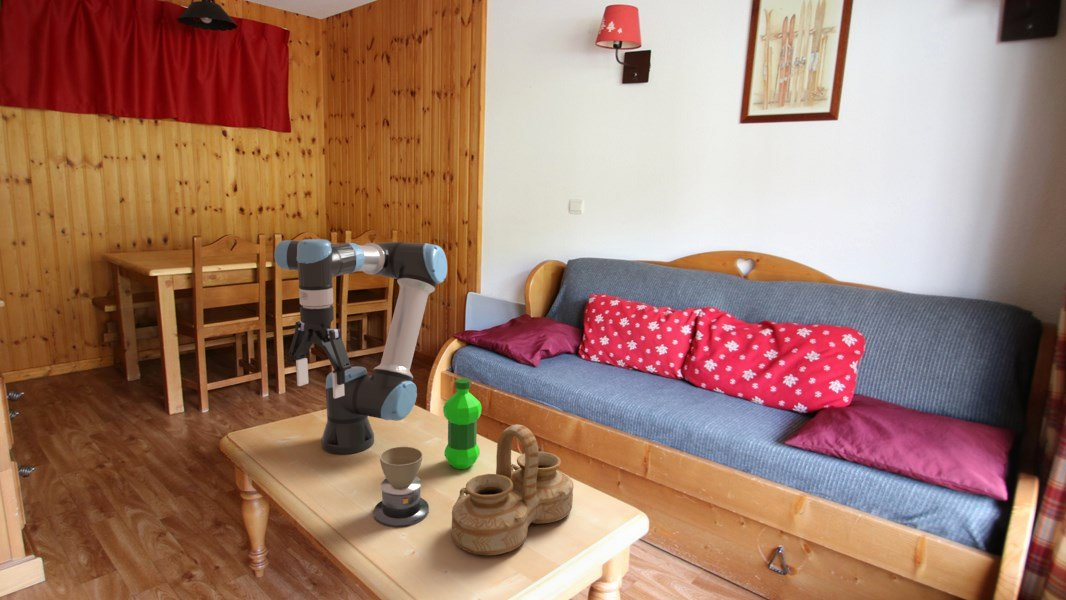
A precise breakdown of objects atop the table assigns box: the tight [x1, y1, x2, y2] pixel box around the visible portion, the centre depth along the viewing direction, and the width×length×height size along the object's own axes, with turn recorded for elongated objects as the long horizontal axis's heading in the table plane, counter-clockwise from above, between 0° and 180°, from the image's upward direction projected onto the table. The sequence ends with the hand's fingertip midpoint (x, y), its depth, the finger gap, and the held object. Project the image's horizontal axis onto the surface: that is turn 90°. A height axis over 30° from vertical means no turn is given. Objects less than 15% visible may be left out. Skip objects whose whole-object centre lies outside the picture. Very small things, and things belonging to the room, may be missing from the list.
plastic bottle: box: [442, 377, 482, 470], centre depth 171 cm, size 10×10×25 cm
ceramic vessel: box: [450, 423, 574, 556], centre depth 144 cm, size 34×18×25 cm, turn 141°
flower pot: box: [379, 445, 424, 488], centre depth 146 cm, size 10×10×7 cm
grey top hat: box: [373, 475, 430, 528], centre depth 148 cm, size 13×13×8 cm
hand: (320, 390), depth 149 cm, fingers open, 13 cm apart
